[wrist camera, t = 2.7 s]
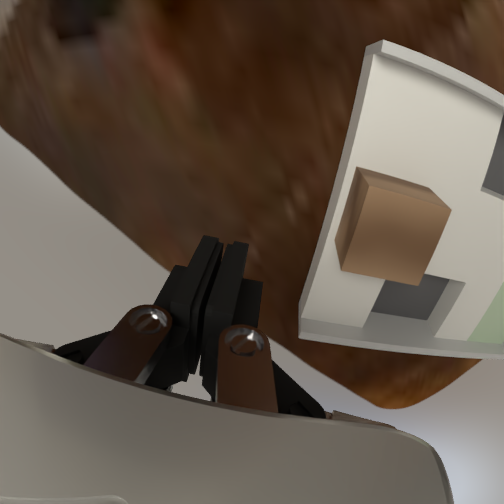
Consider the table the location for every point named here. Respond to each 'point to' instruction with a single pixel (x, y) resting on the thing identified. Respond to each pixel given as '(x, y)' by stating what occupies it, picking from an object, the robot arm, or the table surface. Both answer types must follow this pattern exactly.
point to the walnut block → (389, 227)
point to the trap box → (445, 187)
